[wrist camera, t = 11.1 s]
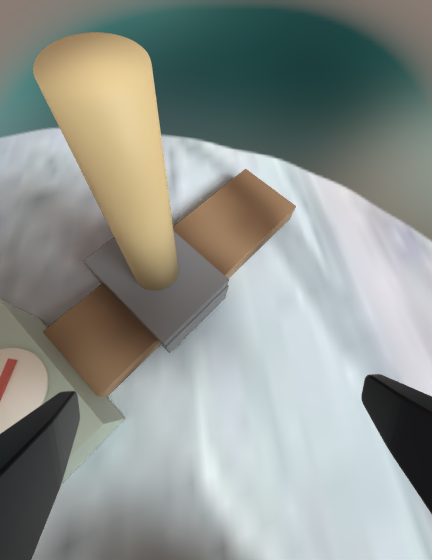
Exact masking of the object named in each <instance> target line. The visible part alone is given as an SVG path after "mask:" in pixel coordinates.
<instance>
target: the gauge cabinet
mask: <svg viewBox="0 0 432 560" xmlns="http://www.w3.org/2000/svg"><path fill="white" fill-rule="evenodd" d="M46 328H47V327H46V325H45V324H44V323H43V322H42V321H41V320H40V319H38V318H37V317H35V316H33V315H31V314H29V313H27V312H25V311H23V310H21V309H19V308H17V307H15V306H14V305H12V304H10V303H8V302H6V301H4V300H2V299H0V434H1V433H2V432H4V431H5V430H6V429H8V428H9V427H11V426H12V425H14V424H15V423H16V422H18V421H19V420H21V419H22V418H24V417H25V416H26V415H28V414H29V413H31V412H32V411H34V410H35V409H36V408H38V407H39V406H41V405H42V404H44V403H45V402H46V401H48V400H49V399H51V398H52V397H54V396H55V395H56V394H58V393H60V392H63V391H75V392H76V393H77V396H78V403H79V410H80V421H79V426H78V429H77V433H76V436H75V440H74V443H73V447H72V450H71V453H70V457H69V460H68V464H67V467H66V471H65V474H64V477H63V480H62V483H63V482H64V481H65V480H66V479H67V478H68V477H69V476H70V475H71V474H72V473H73V472H74V471H75V470H76V469H77V468H78V467H79V466H80V465H81V464H82V463H83V462H84V461H85V460H86V459H87V458H88V457H89V456H90V455H91V454H92V452H93V451H94V450H95V449H96V448H97V447H98V446H99V445H100V444H101V443H102V442H103V441H104V440H105V439H106V438H107V437H108V436H109V435H110V434H111V433H112V432H113V431H114V430H115V429H116V428H117V427H118V426H119V425H120V424H121V423H122V422H123V421H124V419H125V417H124V416H123V415H122V414H121V413H120V412H119V410H118V409H117V408H116V407H115V406H114V405H113V403H112V402H111V401H110V400H109V399H108V398H107V397H98V396H97V395H96V394H95V393H94V392H93V390H92V389H91V388H90V387H89V386H88V384H87V383H86V382H85V381H84V380H83V379H82V377H81V376H80V375H79V374H78V373H77V372H76V370H75V369H74V368H73V367H72V366H71V364H70V363H69V362H68V361H67V360H66V359H65V357H64V356H63V355H62V354H61V353H60V352H59V350H58V349H57V348H56V347H55V346H54V344H53V343H52V342H51V341H50V340H49V339H48V337H47V336H46V335H45V334H44V333H43V331H44V330H45V329H46ZM62 483H61V484H62Z"/></svg>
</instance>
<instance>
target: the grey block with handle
mask: <svg viewBox="0 0 432 560" xmlns="http://www.w3.org/2000/svg"><path fill="white" fill-rule="evenodd" d="M33 72H34V76H35V79H36V81H37V83H38V85H39V87H40V89H41V91H42V93H43V95H44V97H45V99H46V101H47V103H48V105H49V107H50V109H51V111H52V113H53V115H54V117H55V119H56V121H57V123H58V125H59V127H60V129H61V131H62V133H63V135H64V137H65V139H66V141H67V143H68V145H69V147H70V149H71V151H72V153H73V155H74V157H75V159H76V161H77V163H78V165H79V167H80V169H81V171H82V173H83V175H84V177H85V179H86V181H87V183H88V185H89V187H90V189H91V191H92V193H93V195H94V197H95V199H96V201H97V203H98V205H99V207H100V209H101V211H102V213H103V215H104V217H105V219H106V221H107V223H108V225H109V227H110V229H111V231H112V233H113V235H114V238H113V239H111V240H110V241H109V242H107V243H106V244H105V245H103V246H102V247H101V248H99V249H98V250H97V251H95V252H94V253H93V254H91V255H90V256H89V257H87V258H86V259H85V260H83V261H84V263H85V264H86V265H87V267H88V268H89V269H90V270H91V271H92V273H93V274H94V275H95V276H96V278H97V279H98V280H99V281H100V282H101V283H102V284H104V285H105V286H106V287H107V288H108V289H109V290H110V291H111V292H112V293H113V294H114V295H115V296H116V297H117V298H118V299H119V300H120V301H121V302H122V303H123V304H124V305H125V306H126V307H127V308H128V309H129V311H130V312H131V313H132V314H133V315H134V316H135V317H136V318H137V319H138V320H139V321H140V322H141V323H142V324H143V325H144V326H145V327H146V328H147V329H148V330H149V331H150V332H151V333H152V334H153V335H154V336H155V337H156V338H157V339H158V340H159V341H160V343H161V344H162V346H163V347H164V348H165V349H166V350H167V351H168V352H169V353H170V352H171V351H172V350H173V349H174V348H175V347H176V346H177V345H178V344H179V343H180V342H181V341H182V340H183V339H184V338H185V337H186V336H187V335H188V334H189V333H190V332H191V331H192V330H193V329H194V328H195V327H196V326H197V325H198V324H199V323H200V322H201V321H202V320H203V319H204V318H205V317H206V316H207V315H208V314H209V313H210V312H211V311H212V310H213V309H214V308H215V307H216V306H217V305H218V304H219V303H220V302H221V301H222V300H223V299H224V298H225V296H226V293H227V289H228V281H229V279H228V278H227V277H226V276H224V275H223V274H222V273H221V272H220V271H219V270H218V269H216V268H215V267H214V266H213V265H212V264H211V263H210V262H208V261H207V260H206V259H205V258H204V257H203V256H202V255H200V254H199V253H198V252H197V251H196V250H195V249H194V248H192V247H191V246H190V245H189V244H188V243H187V242H186V241H185V240H183V239H182V238H181V237H180V236H179V235H178V234H177V233H175V232H174V231H173V223H172V216H171V208H170V201H169V193H168V186H167V178H166V170H165V163H164V155H163V148H162V140H161V133H160V125H159V118H158V111H157V103H156V95H155V87H154V80H153V72H152V66H151V60H150V57H149V55H148V53H147V52H146V51H145V50H144V49H143V48H142V47H141V46H140V45H139V44H137V43H135V42H134V41H132V40H130V39H128V38H125V37H122V36H119V35H115V34H109V33H96V32H95V33H94V32H93V33H81V34H76V35H71V36H68V37H65V38H62V39H59V40H57V41H55V42H53V43H52V44H50V45H48V46H47V47H46V48H45V49H43V51H41V53H40V54H39V55H38V56H37V58H36V60H35V63H34V66H33Z"/></svg>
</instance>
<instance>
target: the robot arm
mask: <svg viewBox="0 0 432 560" xmlns="http://www.w3.org/2000/svg"><path fill="white" fill-rule="evenodd" d="M362 402H363V404H364V406H365V408H366V410H367V412H368V414H369V415H370V417H371V419H372V421H373V423H374V424H375V426H376V428H377V430H378V432H379V433H380V435H381V437H382V439H383V441H384V442H385V444H386V446H387V447H388V449H389V451H390V452H391V454H392V455H393V457H394V459H395V460H396V461H397V463H398V464H399V466H400V467H401V469H402V470H403V472H404V473H405V475H406V476H407V478H408V479H409V481H410V482H411V484H412V485H413V487H414V488H415V490H416V491H417V493H418V494H419V496H420V497H421V499H422V500H423V502H424V503H425V505H426V506H427V508H428V509H429V511H430V512H431V514H432V396H429V395H427V394H425V393H422V392H420V391H418V390H415V389H413V388H411V387H408V386H406V385H404V384H402V383H399V382H397V381H395V380H392V379H390V378H388V377H385V376H383V375H380V374H372V375H367V376H366V378H365V381H364V386H363V391H362ZM79 421H80V410H79V403H78V396H77V393H76V392H75V391H63V392H60V393H58V394H56V395H55V396H54V397H52V398H51V399H49V400H48V401H46V402H45V403H44V404H42V405H41V406H39V407H38V408H36V409H35V410H34V411H32V412H31V413H29V414H28V415H26V416H25V417H24V418H22V419H21V420H19V421H18V422H16V423H15V424H14V425H12V426H11V427H9V428H8V429H6V430H5V431H4V432H2V433H1V434H0V560H31V559H32V556H33V554H34V551H35V549H36V546H37V544H38V541H39V539H40V536H41V534H42V531H43V529H44V526H45V524H46V521H47V519H48V516H49V514H50V511H51V509H52V506H53V504H54V501H55V499H56V496H57V493H58V491H59V488H60V486H61V483H62V480H63V477H64V474H65V471H66V467H67V464H68V460H69V457H70V453H71V450H72V447H73V443H74V440H75V436H76V433H77V429H78V426H79Z"/></svg>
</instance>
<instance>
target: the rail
mask: <svg viewBox="0 0 432 560" xmlns="http://www.w3.org/2000/svg"><path fill="white" fill-rule="evenodd" d="M295 208H296V206H295V205H294V204H292V203H291V202H290V201H288V200H287V199H286V198H284V197H283V196H282V195H280V194H279V193H278V192H276V191H275V190H274V189H272V188H271V187H269V186H268V185H267V184H265V183H264V182H263V181H261V180H260V179H259V178H257V177H256V176H255V175H253V174H252V173H251V172H249V171H248V170H247V169H245V170H243V171H242V172H241V173H240V174H239V175H237V176H236V177H235V178H234V179H232V180H231V181H230V182H229V183H227V184H226V185H225V186H224V187H222V188H221V189H220V190H219V191H217V192H216V193H215V194H214V195H212V196H211V197H210V198H209V199H207V200H206V201H205V202H204V203H202V204H201V205H200V206H199V207H197V208H196V209H195V210H194V211H192V212H191V213H190V214H189V215H187V216H186V217H185V218H184V219H182V220H181V221H180V222H179V223H177V224H176V225H175V226H174V227H173V231H174V232H175V233H177V234H178V235H179V236H180V237H181V238H182V239H183V240H185V241H186V242H187V243H188V244H189V245H190V246H191V247H192V248H194V249H195V250H196V251H197V252H198V253H199V254H200V255H202V256H203V257H204V258H205V259H206V260H207V261H208V262H210V263H211V264H212V265H213V266H214V267H215V268H216V269H218V270H219V271H220V272H221V273H222V274H223V275H224V276H226V277H227V278H228V279H229V278H230V277H231V276H232V275H233V274H234V273H235V272H236V271H237V270H238V269H239V268H240V267H241V266H242V265H243V264H244V263H245V262H246V261H247V260H248V259H249V258H250V257H251V256H252V255H253V254H254V253H255V252H256V251H257V250H259V249H260V248H261V247H262V246H263V245H264V244H265V243H266V242H267V241H268V240H269V239H270V238H271V237H272V236H273V235H274V234H275V233H276V232H277V231H278V230H279V229H280V228H281V227H282V226H283V225H284V224H285V223H286V222H287V221H288V220H289V219H290V217H291V215H292V213H293V211H294V209H295ZM43 333H44V334H45V335H46V336H47V337H48V339H49V340H50V341H51V342H52V343H53V344H54V346H55V347H56V348H57V349H58V350H59V352H60V353H61V354H62V355H63V356H64V357H65V359H66V360H67V361H68V362H69V363H70V364H71V366H72V367H73V368H74V369H75V370H76V372H77V373H78V374H79V375H80V376H81V377H82V379H83V380H84V381H85V382H86V383H87V384H88V386H89V387H90V388H91V389H92V390H93V392H94V393H95V394H96V395H97V396H98V397H107V396H108V395H109V394H110V393H111V392H112V391H113V390H114V389H115V388H116V387H118V386H119V385H120V384H121V383H122V382H123V381H124V380H125V379H126V378H127V377H128V376H129V375H130V374H131V373H132V372H133V371H134V370H135V369H136V368H137V367H138V366H139V365H140V364H141V363H142V362H143V361H144V360H145V359H146V358H147V357H148V356H149V355H150V354H151V353H153V352H154V351H155V350H156V349H157V348H158V347H159V346H160V345H161V343H160V341H159V340H158V339H157V338H156V337H155V336H154V335H153V334H152V333H151V332H150V331H149V330H148V329H147V328H146V327H145V326H144V325H143V324H142V323H141V322H140V321H139V320H138V319H137V318H136V317H135V316H134V315H133V314H132V313H131V312H130V311H129V309H128V308H127V307H126V306H125V305H124V304H123V303H122V302H121V301H120V300H119V299H118V298H117V297H116V296H115V295H114V294H113V293H112V292H111V291H110V290H109V289H108V288H107V287H106V286H105V285H104V284H101V285H100V286H99V287H98V288H96V289H95V290H94V291H93V292H91V293H90V294H89V295H88V296H86V297H85V298H84V299H83V300H81V301H80V302H79V303H78V304H76V305H75V306H74V307H73V308H71V309H70V310H69V311H68V312H66V313H65V314H64V315H63V316H61V317H60V318H59V319H58V320H56V321H55V322H54V323H53V324H51V325H50V326H49V327H48V328H46V329H45V330H44V331H43Z"/></svg>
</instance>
